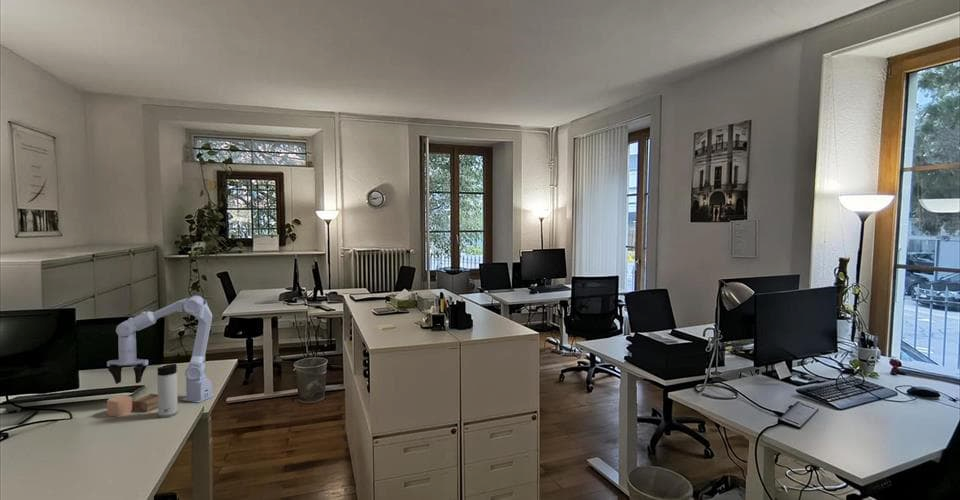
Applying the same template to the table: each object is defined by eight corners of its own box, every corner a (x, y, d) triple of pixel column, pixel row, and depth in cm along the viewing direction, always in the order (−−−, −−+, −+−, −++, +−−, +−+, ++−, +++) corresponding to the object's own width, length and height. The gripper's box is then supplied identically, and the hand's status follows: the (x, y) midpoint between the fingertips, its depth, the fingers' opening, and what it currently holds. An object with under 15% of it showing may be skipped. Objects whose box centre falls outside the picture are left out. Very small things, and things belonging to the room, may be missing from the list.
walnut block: (166, 405, 186) (165, 395, 186) (147, 412, 179) (147, 403, 179) (151, 402, 189) (151, 393, 188) (132, 410, 181) (131, 400, 181)
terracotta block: (132, 411, 179) (131, 396, 179) (117, 417, 174) (117, 402, 174) (121, 409, 181) (121, 395, 180) (107, 415, 175) (106, 400, 175)
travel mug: (168, 418, 173) (167, 368, 172) (154, 417, 174) (153, 366, 173) (182, 412, 179) (181, 363, 178) (168, 410, 181) (167, 361, 179)
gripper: (152, 347, 188) (153, 378, 189) (115, 347, 186) (115, 379, 187) (141, 351, 181) (142, 384, 182) (102, 352, 179) (103, 385, 180)
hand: (128, 382), depth 184 cm, fingers open, 7 cm apart
